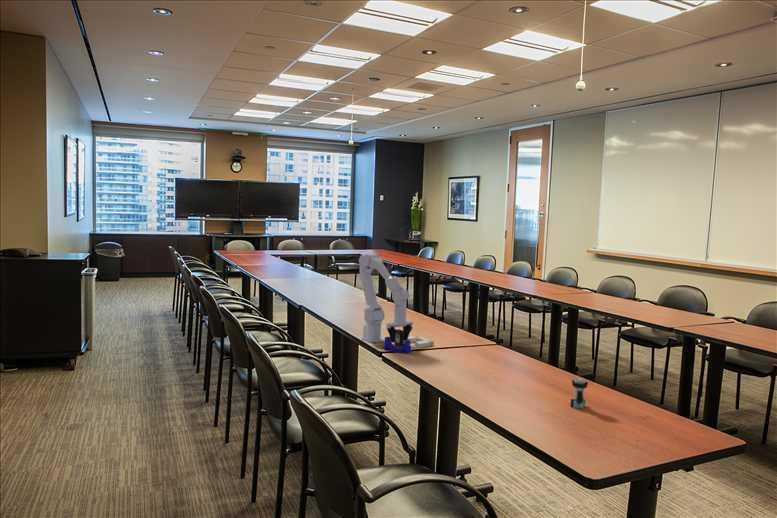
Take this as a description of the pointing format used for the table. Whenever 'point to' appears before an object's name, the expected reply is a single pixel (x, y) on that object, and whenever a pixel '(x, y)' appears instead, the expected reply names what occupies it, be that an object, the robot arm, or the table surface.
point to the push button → (579, 393)
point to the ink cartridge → (399, 338)
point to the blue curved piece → (391, 347)
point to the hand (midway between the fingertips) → (399, 341)
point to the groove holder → (420, 341)
